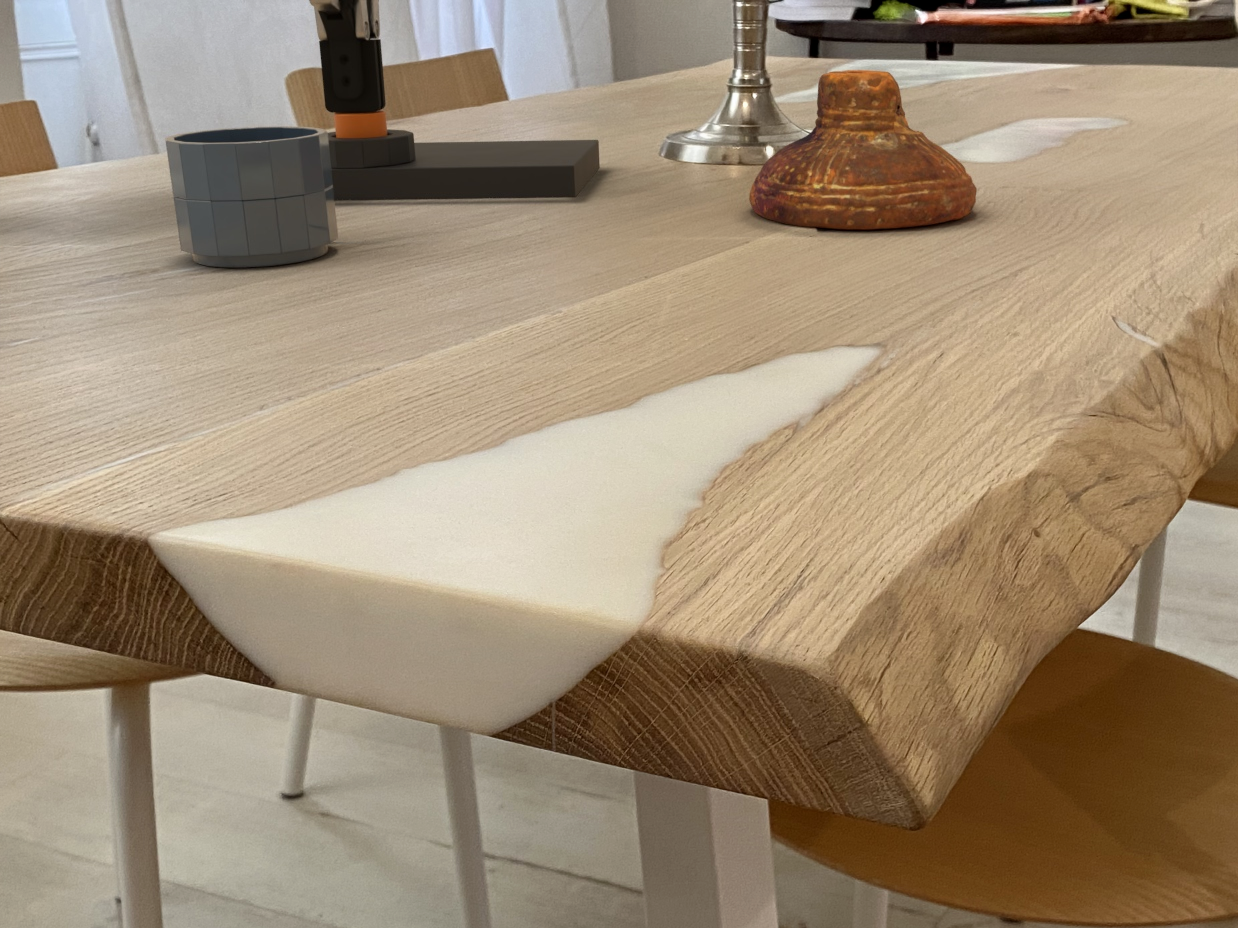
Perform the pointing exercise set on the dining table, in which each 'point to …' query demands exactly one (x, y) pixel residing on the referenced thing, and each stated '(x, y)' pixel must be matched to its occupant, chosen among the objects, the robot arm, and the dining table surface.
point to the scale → (458, 168)
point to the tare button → (360, 124)
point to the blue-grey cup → (253, 195)
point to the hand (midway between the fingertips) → (356, 110)
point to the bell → (862, 165)
